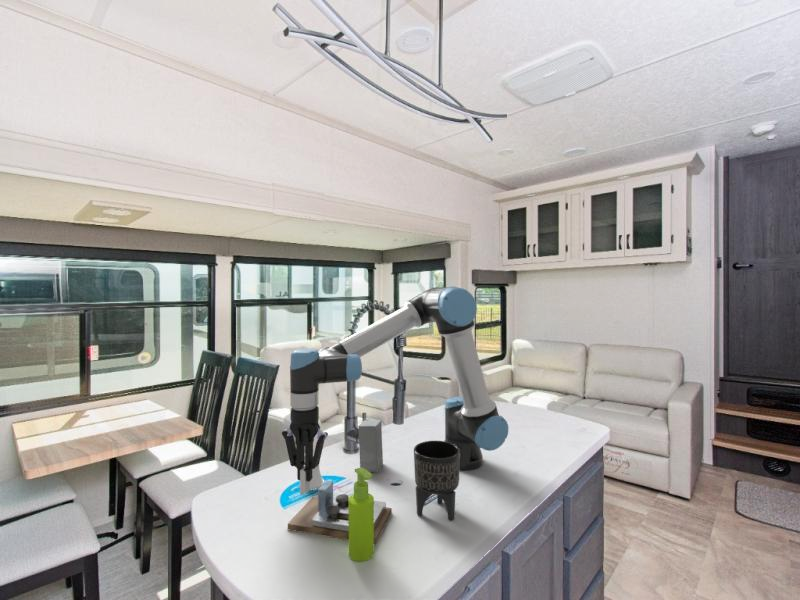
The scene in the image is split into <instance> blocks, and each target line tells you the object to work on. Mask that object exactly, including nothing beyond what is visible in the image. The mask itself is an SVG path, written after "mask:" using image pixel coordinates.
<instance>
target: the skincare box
mask: <svg viewBox="0 0 800 600" xmlns="http://www.w3.org/2000/svg"><path fill="white" fill-rule="evenodd" d="M357 428H358V449H359V468H360V467H362V468H364V469H366V470H367V471H369V472H370V473H379V471H380V469H381V468H382V467H383V466H382V465H383V462H384V458H383V457H384V456H383V455H384V454H383V433H382V431H383V430H382V420H381V419H364V420H363V421H361V422H360V424H359V425H358V427H357Z"/></svg>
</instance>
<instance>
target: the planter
mask: <svg viewBox="0 0 800 600" xmlns="http://www.w3.org/2000/svg"><path fill="white" fill-rule="evenodd" d="M413 463H414V467H413V468H414V482H415V485H416V486H415V502H416V503H415V504H416V514H417V516H418V517H419V516H420V517H421V516H423V510H424V506H425V503H426V501H427V500H428V499H429V498H430V497H431V496H432V495H436V496H437V499H436V500H437V504H441V505H442V504H443V503H444V505H445V507H446V512H447V520H448V521H450V522H452V521H455V515H456V513H455V511H456V510H455V509H456V489H457V488H458V486H459V483H460V471H461V470H460V449H459V447H458V446H456V445H454V444H452V443H449V442H445V440H443V441H442V440H426V441H423V442H420V443H418V444H416V445H414V447H413Z"/></svg>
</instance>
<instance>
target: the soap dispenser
mask: <svg viewBox="0 0 800 600" xmlns="http://www.w3.org/2000/svg"><path fill="white" fill-rule="evenodd" d="M354 473H356V475H357V476H356V477H357V481H355V482H354V483H353V494H351V495H350V496H348V497H349V540H348V556H349V559H350V560H353V561H355V562H358V563H359V562H360V563H362V562H367V561H369V560H370V559H372V558H373V556H374V555H375V551H374V550H375V544H374V501H375V499H374V496H373V495H372V494H371V493H369V482H368V480H370V479H373V478H374V476H373V474H372V472H369V471H367V470H366V469H364V468H362V467H360V466H359V467H358V468H355V469H354Z"/></svg>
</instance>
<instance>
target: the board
mask: <svg viewBox="0 0 800 600" xmlns="http://www.w3.org/2000/svg"><path fill="white" fill-rule="evenodd" d="M349 497H350V496H349V495H348V494H344V493H343V494H338V496H337V497H336V502H337V503H339V506H343V507H349V506H346V502H348V500H349ZM339 506H335V505H333V506H329V507H328V508H327V514H328V515H329V518H333V519H339V520H345V521H349V519H344V518H338V517H337V514H339V513H340V507H339ZM392 511H393V510H392V507H387V506H386V508H385V510H384V512H383V513H382V515H381V517H380V519H379V521H378V523H377V524H376V526H375V528H374V546H375V545H376V544H377V543H378V541H379V540H380V537H381V536H382V534H383V531H384V530H385V527H386V525H387V524H388V521H389V519H390V517H391V516H392V514H393V513H392ZM317 513H318V496H317V497H316V496H312V497H311V498H310V499H309V500H308V501H307V502H306V503H305V504H304V505H303V507H301V508H300V510H298V512H297V513H296V514H295V515H294V516H293V517H292V518H291V519H290V521H288V523H287V530H288V529H290V530H289V531H294V530H296V531H295V532H299V531H301V532H300V533H305V532H306V534H312V535H319V536H324V537H330V538H336V539H342V540H347V541H349V531H343V530H337V529H331V528H324V527H318V526H312V525H311V520H312V518H313V517H314V516H315V515H316V514H317Z"/></svg>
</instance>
